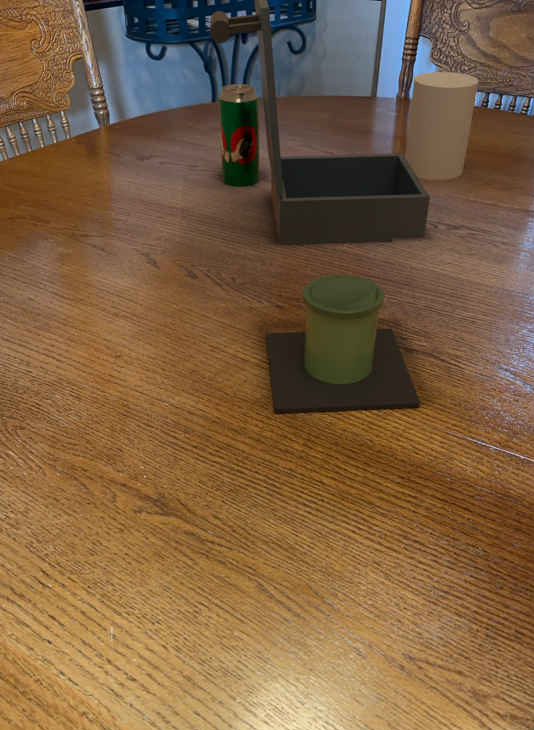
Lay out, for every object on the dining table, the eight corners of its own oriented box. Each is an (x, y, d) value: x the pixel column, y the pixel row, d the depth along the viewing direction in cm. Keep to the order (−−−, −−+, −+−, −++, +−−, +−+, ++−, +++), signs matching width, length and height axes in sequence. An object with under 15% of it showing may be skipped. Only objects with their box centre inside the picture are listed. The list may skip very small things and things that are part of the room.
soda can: (266, 183, 96) (266, 86, 88) (245, 195, 93) (242, 95, 85) (237, 176, 98) (233, 81, 90) (215, 187, 95) (210, 89, 87)
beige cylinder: (467, 169, 100) (484, 75, 92) (453, 188, 94) (470, 90, 86) (412, 162, 102) (423, 69, 94) (395, 180, 97) (406, 83, 89)
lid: (260, -17, 75) (207, -10, 75) (269, 6, 64) (206, 14, 64) (274, 152, 87) (228, 158, 87) (283, 196, 76) (230, 202, 76)
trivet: (391, 332, 67) (392, 328, 66) (419, 407, 58) (420, 402, 57) (266, 337, 66) (266, 332, 66) (274, 413, 57) (274, 408, 57)
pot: (368, 344, 64) (376, 272, 60) (381, 385, 59) (391, 311, 55) (297, 346, 64) (299, 275, 59) (304, 388, 59) (307, 314, 54)
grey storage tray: (397, 199, 92) (402, 153, 88) (422, 247, 81) (430, 196, 77) (271, 203, 91) (271, 156, 87) (279, 251, 80) (280, 200, 76)
